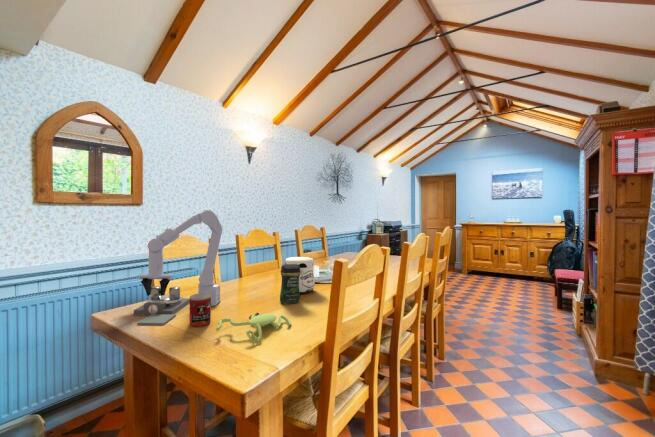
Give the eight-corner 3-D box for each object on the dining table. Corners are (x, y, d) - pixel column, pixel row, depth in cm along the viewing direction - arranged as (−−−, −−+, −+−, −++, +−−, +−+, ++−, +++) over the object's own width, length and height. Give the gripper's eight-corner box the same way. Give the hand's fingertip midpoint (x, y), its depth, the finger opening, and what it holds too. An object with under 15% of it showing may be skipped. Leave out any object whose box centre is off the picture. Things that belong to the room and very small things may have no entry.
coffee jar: (281, 305, 148) (282, 266, 147) (278, 300, 155) (278, 263, 154) (301, 303, 151) (302, 265, 150) (297, 299, 158) (297, 262, 158)
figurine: (208, 337, 110) (209, 322, 110) (260, 316, 133) (260, 302, 133) (247, 350, 101) (248, 333, 101) (296, 324, 124) (296, 310, 124)
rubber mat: (176, 316, 130) (176, 314, 130) (163, 325, 120) (163, 323, 120) (151, 315, 130) (151, 314, 130) (137, 324, 120) (137, 322, 120)
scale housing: (190, 302, 149) (190, 292, 149) (172, 315, 131) (172, 304, 131) (156, 302, 149) (156, 292, 149) (133, 315, 130) (133, 304, 130)
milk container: (313, 296, 164) (314, 261, 164) (280, 295, 165) (281, 261, 164) (315, 287, 182) (316, 256, 181) (285, 287, 182) (286, 256, 181)
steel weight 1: (163, 297, 143) (163, 286, 143) (158, 300, 139) (158, 288, 139) (153, 297, 143) (153, 286, 143) (148, 299, 139) (148, 288, 139)
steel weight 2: (181, 297, 143) (181, 286, 143) (177, 300, 139) (177, 289, 139) (172, 297, 143) (172, 286, 143) (167, 300, 139) (167, 288, 139)
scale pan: (187, 295, 148) (187, 294, 148) (173, 304, 134) (173, 303, 134) (157, 295, 148) (157, 294, 148) (140, 304, 134) (140, 303, 134)
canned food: (190, 328, 117) (190, 299, 117) (188, 321, 124) (188, 294, 124) (211, 325, 121) (212, 297, 120) (209, 319, 128) (209, 292, 127)
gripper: (134, 266, 136) (134, 297, 137) (167, 266, 137) (167, 297, 137) (143, 263, 143) (143, 293, 144) (175, 264, 144) (175, 293, 144)
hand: (155, 295), depth 141 cm, fingers open, 6 cm apart
